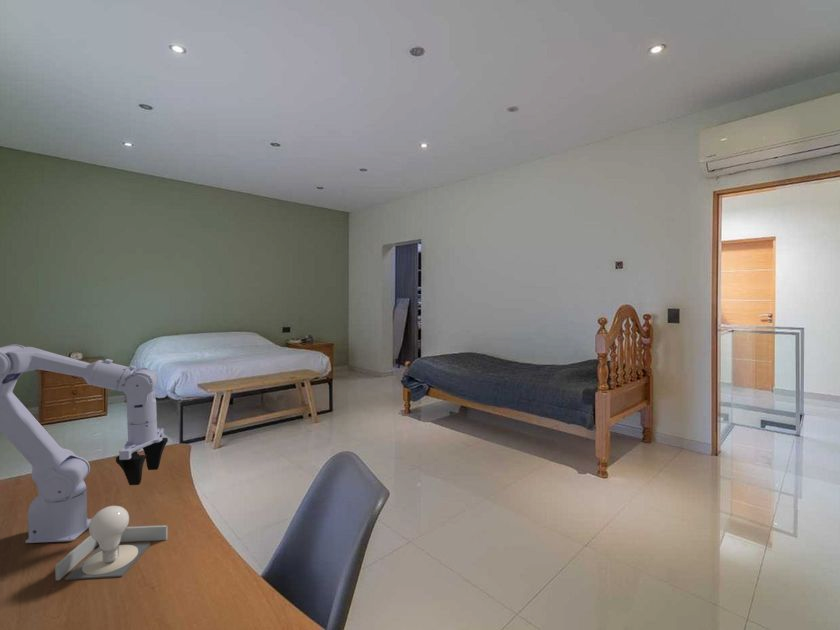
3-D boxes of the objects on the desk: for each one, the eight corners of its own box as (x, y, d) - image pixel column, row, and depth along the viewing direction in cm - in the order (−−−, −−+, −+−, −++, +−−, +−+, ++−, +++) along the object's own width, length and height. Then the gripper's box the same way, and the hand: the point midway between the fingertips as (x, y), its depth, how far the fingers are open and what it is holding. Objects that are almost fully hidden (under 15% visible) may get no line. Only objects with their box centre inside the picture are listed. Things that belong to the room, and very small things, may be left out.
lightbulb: (111, 573, 76) (109, 517, 76) (81, 570, 77) (79, 515, 76) (138, 551, 83) (136, 500, 82) (110, 549, 83) (108, 498, 83)
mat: (64, 579, 75) (64, 577, 75) (101, 546, 85) (101, 544, 85) (121, 576, 76) (121, 574, 76) (151, 543, 86) (151, 542, 86)
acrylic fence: (50, 580, 75) (49, 565, 75) (94, 541, 86) (94, 528, 86) (135, 576, 76) (135, 561, 76) (167, 538, 88) (167, 525, 88)
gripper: (142, 431, 87) (144, 490, 88) (175, 410, 101) (177, 462, 102) (107, 432, 86) (110, 492, 87) (146, 411, 101) (148, 463, 102)
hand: (144, 476), depth 95 cm, fingers open, 7 cm apart
